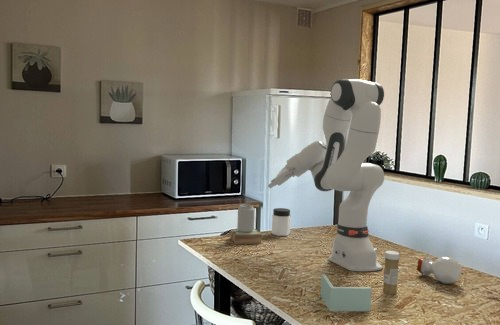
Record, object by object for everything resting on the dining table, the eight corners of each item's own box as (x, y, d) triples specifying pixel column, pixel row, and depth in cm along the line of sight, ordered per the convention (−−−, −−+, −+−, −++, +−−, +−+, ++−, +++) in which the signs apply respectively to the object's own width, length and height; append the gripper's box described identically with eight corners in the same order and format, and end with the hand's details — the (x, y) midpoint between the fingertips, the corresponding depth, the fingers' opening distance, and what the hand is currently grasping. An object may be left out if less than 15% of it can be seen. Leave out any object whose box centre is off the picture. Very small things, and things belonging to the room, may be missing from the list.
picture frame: (261, 243, 209) (261, 233, 208) (234, 244, 206) (235, 234, 206) (255, 237, 219) (256, 228, 218) (230, 238, 216) (230, 229, 215)
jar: (287, 231, 232) (288, 208, 231) (291, 235, 224) (292, 211, 223) (270, 231, 231) (270, 208, 230) (273, 236, 223) (274, 211, 222)
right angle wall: (370, 313, 137) (371, 288, 137) (329, 313, 136) (331, 288, 136) (357, 297, 149) (358, 274, 148) (320, 297, 148) (321, 274, 147)
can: (256, 231, 213) (257, 205, 212) (247, 234, 207) (248, 207, 206) (243, 228, 217) (244, 203, 216) (234, 231, 211) (234, 205, 210)
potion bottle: (457, 292, 159) (420, 283, 172) (470, 272, 163) (433, 265, 176) (446, 272, 156) (410, 265, 169) (460, 252, 160) (423, 247, 173)
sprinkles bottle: (380, 289, 155) (382, 250, 154) (393, 289, 155) (396, 250, 154) (385, 295, 150) (388, 254, 149) (399, 294, 151) (402, 254, 150)
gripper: (297, 176, 195) (271, 195, 199) (301, 168, 215) (277, 185, 218) (288, 164, 195) (262, 183, 198) (293, 157, 215) (269, 175, 218)
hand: (270, 184), depth 209 cm, fingers open, 8 cm apart
